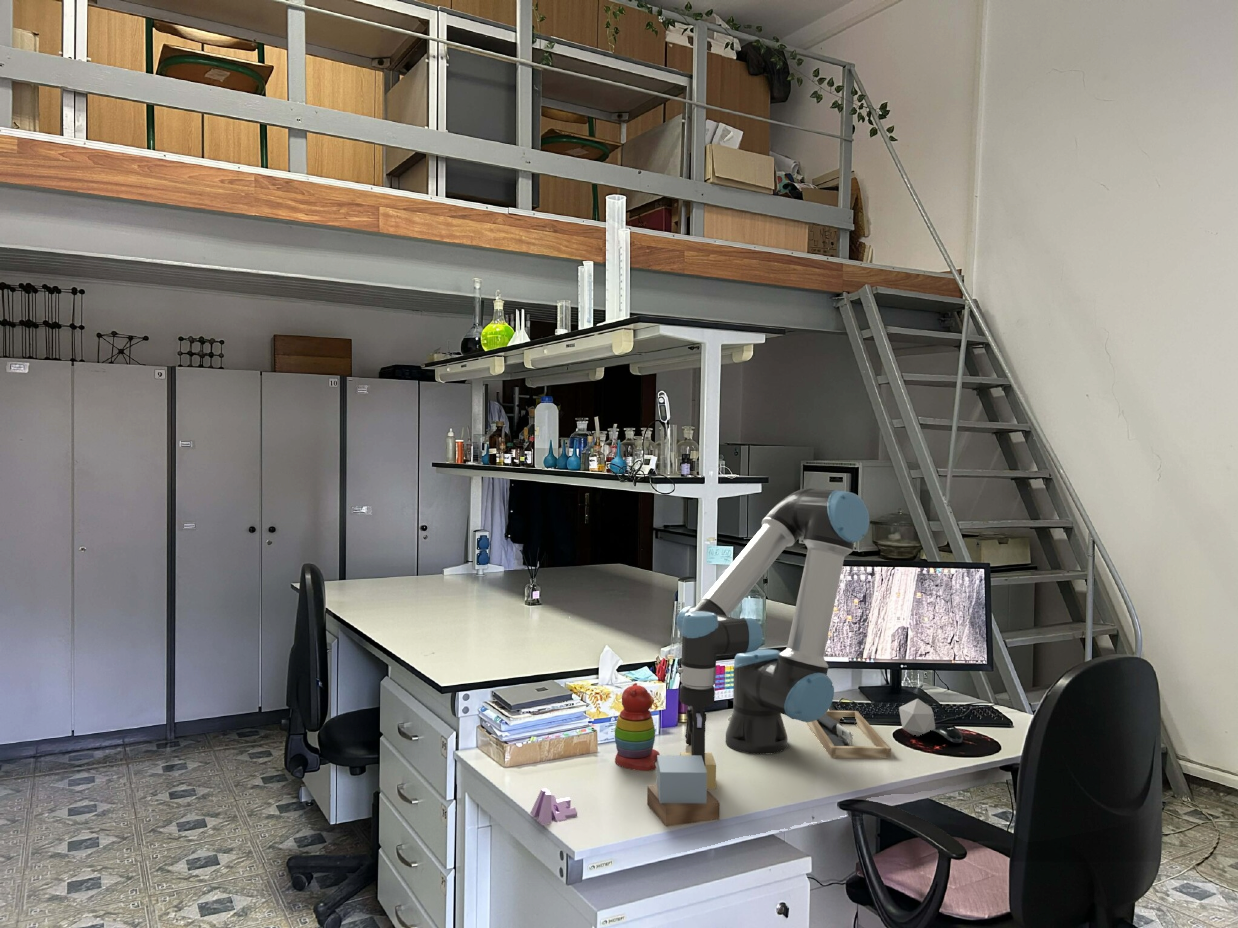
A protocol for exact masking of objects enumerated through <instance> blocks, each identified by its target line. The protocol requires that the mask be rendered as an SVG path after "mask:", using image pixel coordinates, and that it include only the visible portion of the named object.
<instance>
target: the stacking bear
mask: <svg viewBox="0 0 1238 928" xmlns="http://www.w3.org/2000/svg"><path fill="white" fill-rule="evenodd" d="M654 702H655V698H654V697H653V696H652V695H651V694H650V692H649V691H648V690H647V688H646V687H645V686H642V685H638V683H637V682H634V683H633V684H632V685H631V686H628V687H626V688H625V689H624V690H623V692H622V695H621V703H622V704H621V705H622V706H623V709H622V710H621V711H620V713H619V714H618V716H617V719H616V723H615V729H614V741H615V745H616V752H617V753H616V755H615V758H614V762H615V763H616V765H618V766H619V765H620V767H622V766H623V767H622V768H624V767H625V769H628V768H629V770H633V769H635V770H634V771H641V772H643V771H644V772H649V771H654V770H655V769H657V765H656V763H655V762H657V755H661V754H660V752H659V750H656V749H655V748H654V745H655V740H656V729H655V723H654V719H653V716H652V712H651V711H650V709H651V708H652V706H653V705H654Z"/></svg>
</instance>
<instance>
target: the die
mask: <svg viewBox="0 0 1238 928" xmlns="http://www.w3.org/2000/svg"><path fill="white" fill-rule="evenodd" d="M898 710H899V716H900V723H901V726H902V727H901V728H902V730H904V731H906V732H907V733H909V734H911V735H912V736H914V735H916V736H915V737H921V736H923V735H925V734H927V733H929V732H930V730H931V731H933V730H936V722H935V717H934V715H935V714H934V712H933V709H932V707H931V706H930V705H928V704H926V703H925V702H923V701H922V700H921V699H919V698H916V699H914V700H911V701H909V702H907V703H906V704H904V705H902V706H899V707H898ZM922 734H923V735H922ZM920 735H921V736H920Z"/></svg>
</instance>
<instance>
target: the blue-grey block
mask: <svg viewBox="0 0 1238 928" xmlns="http://www.w3.org/2000/svg"><path fill="white" fill-rule="evenodd" d="M656 785H657V789H658V795H659V801H660V803H706V798H707V790H708V789H707V771H706V768H705V765H704V762H703V759H702V756H701V755H680V754H676V755H675V754H669V755H668V754H660V755H657V760H656Z"/></svg>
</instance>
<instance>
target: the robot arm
mask: <svg viewBox="0 0 1238 928" xmlns="http://www.w3.org/2000/svg"><path fill="white" fill-rule="evenodd" d="M869 527H870V515H869V510H868V508H867V506H866V505H865V502H864V500H863V499H862V498H861V497H860V495H857V494H856V493H854V492H850V491H847V490H846V491H845V490H840V489H817V488H809V487H808V488H801V489H798V490H797V491H793V492H792V493H790V494H789V495H788V496H785V498H783V499H782V500H780V501H779V502H778V503H777V504H776V505H774V507H773V508H772V509H771V510H770V511H769V512H768V513H766V515H765V516H764V518H763V519H762V520H761V528H760V529H759V530H758V531H757V532H756V534H754V536H753V537H752V539H750V541H749V542H748V543H747V545H746V546H745V547H744V548H743V549H742V550H741V552H740V553H739V554H738V555H737V556H736V557H735V559H734V560H733V561H732V562H731V564H730V565H729V566H728V567H727V568H726V570H725V571H724V572H723V574H721V576H720V577H719V578H718V579H717V580H716V582H715V583H714V584H713V585H712V586H711V587H710V589H709V590H708V591H707V592H706V593H705V595H704V596H703V597H702V598H701V600H700V601H699V602H698V603H697V604H696V605H692V606H691V605H690V606H685V607H683V608H682V609H681V610H680V611H679V613H678V615H677V619H676V627H677V630H678V633H680V634H681V653H680V654H681V655H680V656H681V657H680V659H681V660H680V661H681V662H680V664H681V665H680V666H681V667H680V668H678V669H677V672H678V673H679V674H680V682H681V684H680V685H679V702H680V703H681V704H683V705H685V706H687V709H686V712H685V713H686V724H685V725H686V728H685V729H686V730H685V735H684V737H685V744H686V745H685V753H692V755H701V756H702V759H703V762H704V765H705V753H706V722H707V713H706V710H705V709H704V708H705V707H706V708H707V707H710V706H713V705H714V704H715V694H716V693H715V692H716V688H715V686H714V685H716V679H717V678H716V677H717V656H726V655H735V656H734V661H733V662H734V663H733V684H732V685H733V687H732V688H733V693H732V694H733V702H732V703H733V707H732V708H733V709H732V714H731V717H730V720H729V722H728V726H727V727H726V731H725V744H726V745H727V747H729V748H731V749H732V750H736V751H737V752H741V753H746V754H752V755H770V754H771V753H772V754H777V752H778V753H781V752H784V751H785V750H787V748H788V745H789V743H788V742H789V741H788V734H787V731H786V727H785V725H784V724H785V723H784V721H783V718H782V714H783V715H784V716H787V717H788V718H789V719H791V720H797V721H800V722H804V723H806V722H813V721H815V720H818V719H819V718H820V717H821V716H822V715H824V714H825V713H826V712H827V711H829V709H830V708H831V705H832V703H833V701H834V696H835V687H834V685H833V681H832V680H831V678H830V677H829V676H828V670H829V665H828V662H827V661H826V660H825V653H826V652H825V651H826V646H827V642H828V638H829V634H830V627H831V623H832V618H833V614H834V609H835V604H836V600H837V593H838V590H839V584H840V579H841V574H842V570H843V566H844V560H845V558H846V557H847V556H849V554H851V553H852V552H853V551H854V545H855V543H858V542H860V541H861V540H862V539H864V537H866V535H867V533H868V531H869ZM801 538H803V540H802V541H803V543H804V544H805V546H806V548H807V553H806V556H805V560H804V561H805V562H804V566H803V570H802V571H803V572H802V577H801V580H800V586H799V590H798V594H797V598H796V603H795V604H796V605H795V607H794V608H795V609H794V613H793V618H792V623H791V627H790V632H789V637H788V642H787V646H786V648H785V649H784V650H782V651H780V650H777V649H766V648H765V649H764V648H763V649H761V646H762V643H763V637H764V636H763V633H764V632H763V629H762V628H763V627H761V624H760V622H758V621H757V620H756V619H754V618H753V617H747V618H745V617H741V618H735V617H731V615H732V614H733V612H734V611H735V610H736V609H737V607H738V606H739V605H740V604H741V603H742V602H743V600H744V599H745V598H746V597H747V595H748V594H749V592H751V590H752V589H753V588H754V586H756V584H757V583H758V582H759V581H760V579H761V578H762V577H763V576H764V574H765V573H767V571H768V570H769V568H770V567H771V566H772V565H773V563H774V562H775V561H776V559H777V558H778V557H779V556H780V555H781V554H782V552H783V551H784V550H785V549H786V547H793V546H794V544H795V543H796V542H797V540H799V539H801ZM759 648H760V649H759ZM780 751H781V752H780Z"/></svg>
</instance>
